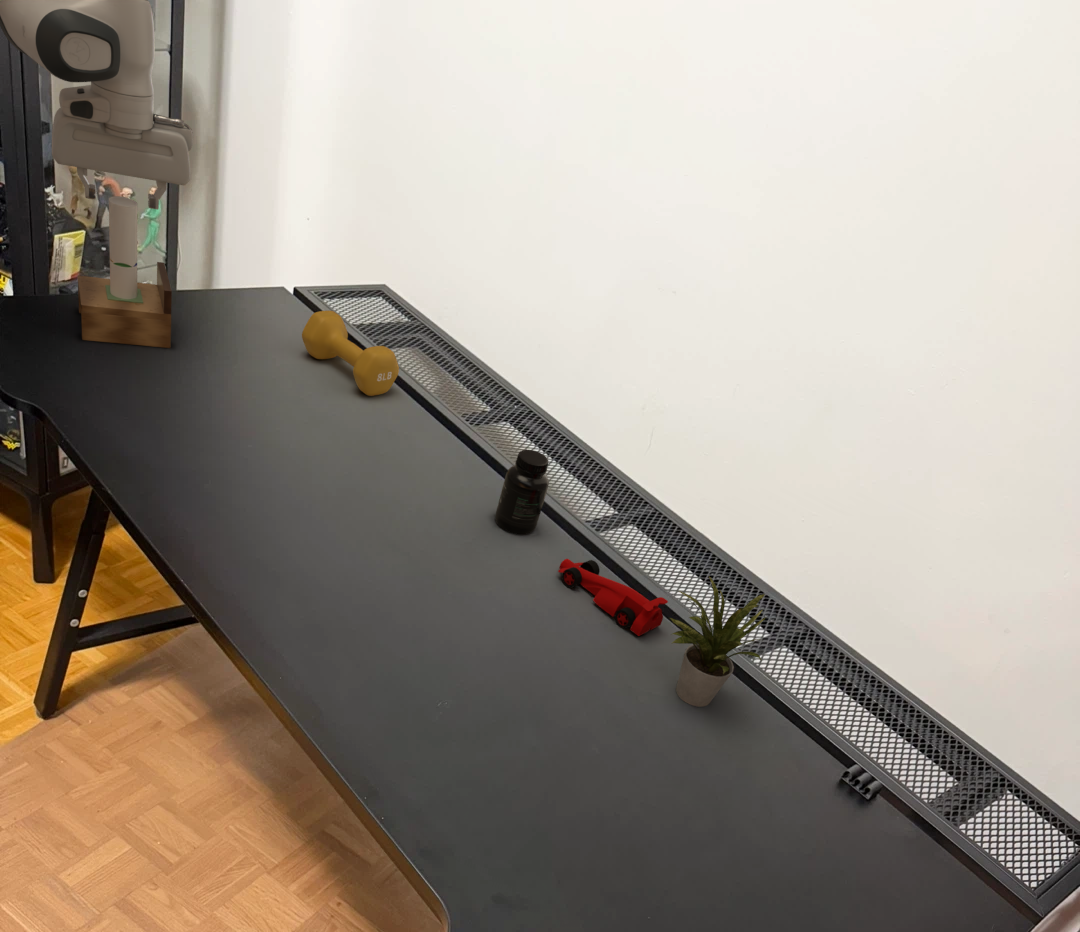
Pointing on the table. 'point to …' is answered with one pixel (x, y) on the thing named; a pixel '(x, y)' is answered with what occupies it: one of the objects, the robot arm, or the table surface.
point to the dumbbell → (350, 353)
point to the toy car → (614, 597)
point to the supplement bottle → (523, 493)
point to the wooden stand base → (126, 312)
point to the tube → (123, 247)
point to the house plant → (711, 650)
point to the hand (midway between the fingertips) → (122, 202)
